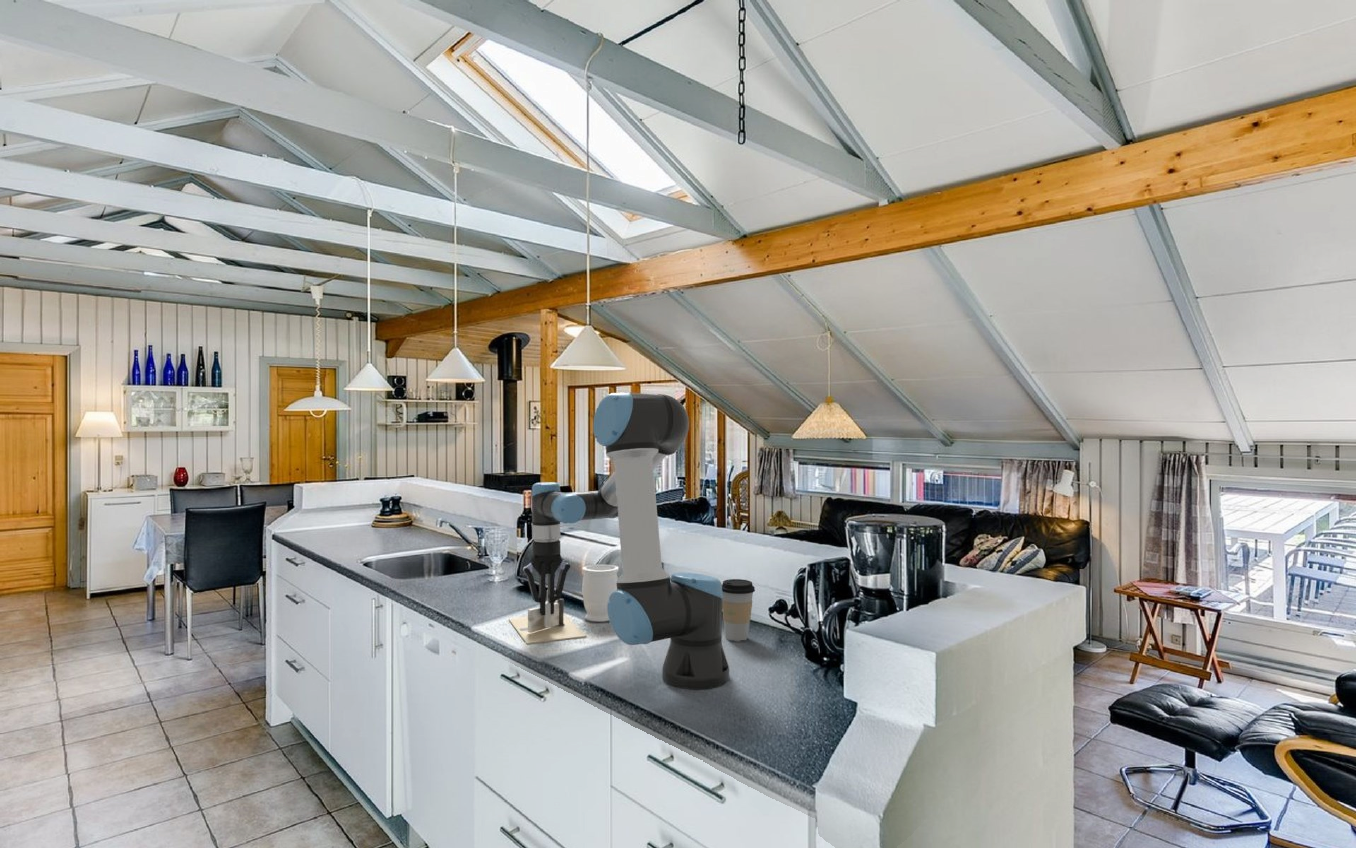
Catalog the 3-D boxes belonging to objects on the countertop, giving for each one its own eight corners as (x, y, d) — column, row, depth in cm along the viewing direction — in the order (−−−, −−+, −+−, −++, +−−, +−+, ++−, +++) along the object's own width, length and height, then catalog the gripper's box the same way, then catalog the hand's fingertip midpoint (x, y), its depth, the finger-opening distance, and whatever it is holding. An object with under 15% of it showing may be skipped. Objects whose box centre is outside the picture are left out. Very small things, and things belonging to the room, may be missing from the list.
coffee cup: (713, 640, 186) (714, 583, 186) (727, 631, 194) (728, 577, 194) (746, 645, 181) (747, 587, 181) (759, 636, 190) (760, 581, 190)
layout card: (586, 637, 187) (586, 635, 187) (526, 644, 180) (526, 642, 180) (562, 614, 209) (562, 612, 209) (508, 620, 202) (508, 618, 202)
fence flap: (531, 633, 187) (531, 607, 187) (527, 631, 188) (527, 606, 188) (564, 623, 196) (565, 599, 196) (560, 622, 197) (560, 598, 198)
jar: (620, 614, 210) (621, 564, 210) (614, 624, 200) (615, 571, 200) (586, 613, 211) (586, 563, 211) (578, 622, 201) (578, 570, 201)
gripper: (565, 535, 196) (566, 620, 196) (519, 539, 190) (520, 625, 190) (573, 539, 189) (573, 627, 189) (525, 543, 183) (526, 633, 184)
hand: (547, 626), depth 190 cm, fingers closed
